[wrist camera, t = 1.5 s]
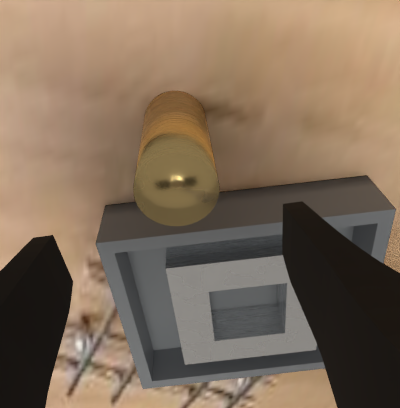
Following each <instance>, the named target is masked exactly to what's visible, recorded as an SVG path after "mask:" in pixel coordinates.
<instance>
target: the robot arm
mask: <svg viewBox="0 0 400 408" xmlns="http://www.w3.org/2000/svg"><path fill="white" fill-rule="evenodd" d="M282 254H283V258H284V262H285V265H286V269H287V272H288V276H289V279H290V282H291V284H292V287H293V289H294V291H295V294H296V296H297V299H298V301H299V303H300V306H301V308H302V310H303V312H304V315H305V317H306V319H307V322H308V324H309V326H310V329H311V331H312V333H313V336H314V338H315V340H316V343H317V345H318V348H319V351H320V353H321V356H322V359H323V362H324V365H325V369H326V372H327V375H328V378H329V381H330V384H331V388H332V391H333V394H334V398H335V401H336V404H337V408H400V273H398V272H397V271H395V270H393V269H391V268H390V267H388V266H386V265H385V264H383V263H382V262H380V261H378V260H377V259H375V258H374V257H372V256H371V255H370V254H368V253H367V252H365V251H364V250H362V249H361V248H359V247H358V246H357V245H355V244H354V243H353V242H351V241H350V240H349V239H347V238H346V237H345V236H344V235H342V234H341V233H340V232H338V231H337V230H336V229H335V228H334V227H332V226H331V225H330V224H329V223H328V222H326V221H325V220H324V219H323V218H322V217H320V216H319V215H318V214H317V213H316V212H315V211H313V210H312V209H311V208H310V207H309V206H308V205H306V204H305V203H304V202H303V201H300V202H293V203H286V204H283V228H282ZM72 286H73V280H72V278H71V276H70V273H69V271H68V269H67V266H66V264H65V262H64V260H63V257H62V255H61V253H60V250H59V248H58V246H57V243H56V241H55V239H54V236H53V235H51V236H43V237H36V238H33V239H32V240H31V241H30V242H29V243H28V244H27V245H25V246H24V247H23V248H22V249H21V251H20V252H19V253H18V254H17V255H16V256H15V257H14V258H13V259H12V260H11V261H10V262H9V263H8V264H7V265H6V266H5V267H4V268H3V269H2V270H1V271H0V408H45V406H46V400H47V394H48V389H49V385H50V381H51V376H52V373H53V369H54V366H55V362H56V358H57V355H58V351H59V347H60V344H61V340H62V337H63V333H64V329H65V325H66V322H67V318H68V314H69V309H70V302H71V295H72Z"/></svg>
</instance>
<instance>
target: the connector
mask: <svg viewBox="0 0 400 408" xmlns="http://www.w3.org/2000/svg"><path fill="white" fill-rule="evenodd" d="M133 193H134V198H135V201H136V204H137V206H138V207H139V209H140V210H141V211H142V212H143V213H144V214H145V215H146V216H147V217H148V218H150V219H151V220H153V221H155V222H157V223H160V224H163V225H167V226H185V225H189V224H193V223H195V222H198V221H199V220H201V219H203V218H204V217H206V216H207V215H208V214H209V213H210V212H211V211H212V210H213V208H214V207H215V205H216V203H217V200H218V197H219V182H218V177H217V172H216V167H215V161H214V156H213V151H212V146H211V141H210V136H209V131H208V126H207V121H206V116H205V112H204V109H203V107H202V105H201V104H200V103H199V101H198V100H197V99H196V98H194V97H193V96H191V95H190V94H188V93H185V92H181V91H169V92H165V93H162V94H160V95H158V96H157V97H156V98H154V99H153V100H152V101H151V103H150V104H149V106H148V107H147V110H146V113H145V119H144V125H143V131H142V137H141V143H140V149H139V156H138V162H137V168H136V174H135V180H134V187H133Z"/></svg>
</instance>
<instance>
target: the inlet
mask: <svg viewBox="0 0 400 408" xmlns="http://www.w3.org/2000/svg"><path fill="white" fill-rule="evenodd" d="M166 273H167V278H168V283H169V288H170V293H171V298H172V303H173V308H174V313H175V318H176V323H177V328H178V333H179V338H180V343H181V348H182V353H183V358H184V363H185V365H188V364H197V363H205V362H214V361H223V360H232V359H241V358H250V357H259V356H267V355H276V354H285V353H294V352H303V351H312V350H316V347H317V343H316V340H315V338H314V336H313V333H312V331H311V329H310V326H309V324H308V322H307V319H306V317H305V315H304V312H303V310H302V308H301V306H300V303H299V301H298V299H297V296H296V294H295V291H294V289H293V287H292V284H291V282H290V279H289V276H288V272H287V269H286V265H285V262H284V258H283V254H282V234H279V235H270V236H262V237H253V238H244V239H235V240H227V241H218V242H209V243H200V244H192V245H183V246H174V247H166ZM274 284H277V293H276V304H267V305H258V306H249V307H240V308H231V309H223V310H214V311H211V304H210V296H209V292H212V291H221V290H230V289H238V288H247V287H256V286H265V285H274Z"/></svg>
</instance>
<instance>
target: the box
mask: <svg viewBox="0 0 400 408" xmlns="http://www.w3.org/2000/svg"><path fill="white" fill-rule="evenodd" d="M300 201H303V202H304V203H305V204H306V205H308V206H309V207H310V208H311V209H312V210H313V211H315V212H316V213H317V214H318V215H319V216H320V217H322V218H323V219H324V220H325V221H326V222H328V223H329V224H330V225H331V226H332V227H334V228H335V229H336V230H337V231H338V232H340V233H341V234H342V235H344V236H345V237H346V238H347V239H349V240H350V241H351V242H353V243H354V244H355V245H357V246H358V247H359V248H361V249H362V250H364V251H365V252H367V253H368V254H370V255H371V256H372V257H374V258H375V259H377V260H378V261H380V262H382V263H384V258H385V254H386V250H387V245H388V241H389V237H390V233H391V228H392V224H393V220H394V215H395V211H396V209H395V207H394V206H393V205H392V204H391V203H390V202H389V200H388V199H387V198H386V197H385V196H384V195H383V193H382V192H381V191H380V190H379V189H378V188H377V186H376V185H375V184H374V183H373V182H372V181H371V179H370V178H369V177H368V176H359V177H350V178H342V179H333V180H324V181H316V182H307V183H298V184H289V185H281V186H272V187H263V188H254V189H246V190H237V191H228V192H219V197H218V200H217V203H216V205H215V207H214V208H213V210H212V211H211V212H210V213H209V214H208V215H207V216H206V217H204V218H203V219H201V220H199V221H198V222H195V223H193V224H189V225H185V226H167V225H163V224H160V223H157V222H155V221H153V220H151V219H150V218H148V217H147V216H146V215H145V214H144V213H143V212H142V211H141V210H140V209H139V207H138V206H137V204H136V202H132V203H123V204H115V205H106V206H105V209H104V213H103V217H102V221H101V225H100V229H99V233H98V236H97V240H96V246H97V249H98V252H99V255H100V258H101V261H102V264H103V267H104V271H105V274H106V277H107V280H108V283H109V286H110V289H111V292H112V295H113V298H114V301H115V304H116V308H117V311H118V314H119V317H120V320H121V323H122V326H123V329H124V332H125V335H126V338H127V341H128V344H129V348H130V351H131V354H132V357H133V360H134V363H135V366H136V369H137V372H138V375H139V378H140V381H141V385H142V388H143V389H146V388H155V387H164V386H173V385H182V384H191V383H200V382H208V381H217V380H226V379H235V378H244V377H253V376H262V375H271V374H279V373H288V372H297V371H306V370H315V369H324V368H325V365H324V362H323V359H322V356H321V353H320V351H319V348H318V345H317V347H316V350H312V351H303V352H294V353H285V354H276V355H267V356H259V357H250V358H241V359H232V360H223V361H214V362H205V363H197V364H188V365H185V363H184V358H183V353H182V348H181V343H180V338H179V333H178V328H177V323H176V318H175V313H174V308H173V303H172V298H171V293H170V288H169V283H168V278H167V273H166V247H174V246H183V245H192V244H200V243H209V242H218V241H227V240H235V239H244V238H253V237H262V236H270V235H279V234H282V228H283V204H286V203H293V202H300ZM276 293H277V284H274V285H265V286H256V287H247V288H238V289H230V290H221V291H212V292H209V296H210V304H211V311H214V310H223V309H231V308H240V307H249V306H258V305H267V304H276Z"/></svg>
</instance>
